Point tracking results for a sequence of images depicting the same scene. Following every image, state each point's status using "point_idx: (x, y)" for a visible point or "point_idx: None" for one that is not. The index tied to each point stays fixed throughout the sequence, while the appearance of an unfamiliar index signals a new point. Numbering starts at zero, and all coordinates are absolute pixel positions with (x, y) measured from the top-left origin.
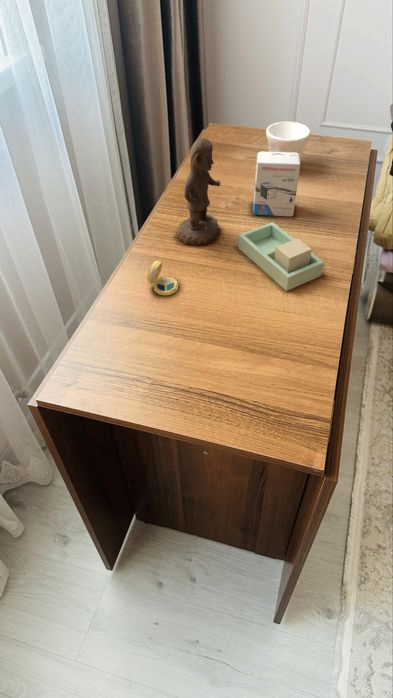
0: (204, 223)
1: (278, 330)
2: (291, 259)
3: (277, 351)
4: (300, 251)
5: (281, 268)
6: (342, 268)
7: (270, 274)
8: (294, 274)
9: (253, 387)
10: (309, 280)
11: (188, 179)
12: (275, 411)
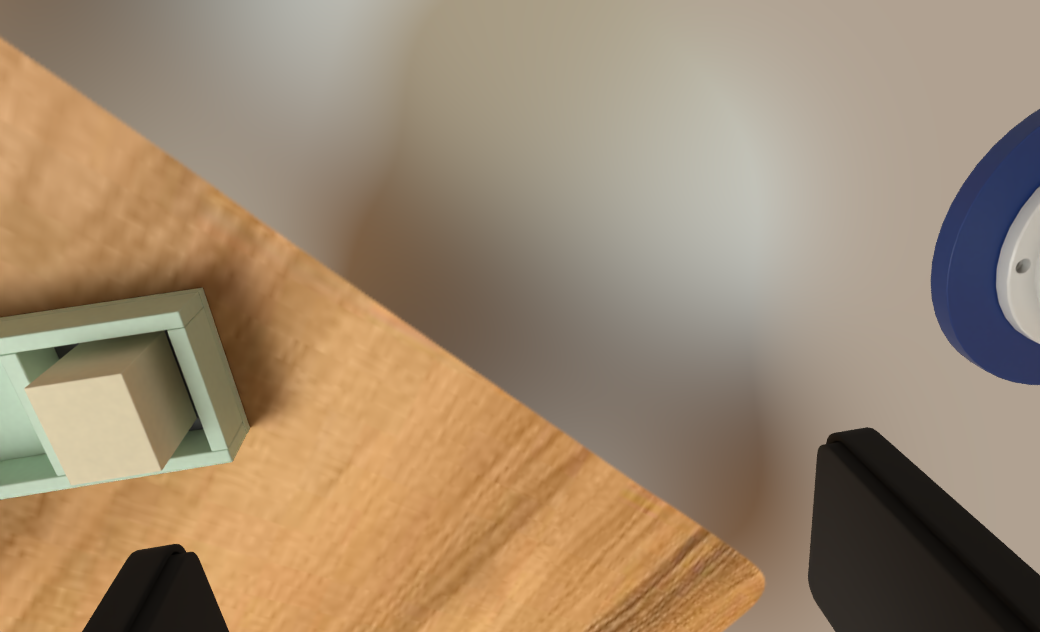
0: None
1: (409, 512)
2: (162, 456)
3: (479, 541)
4: (126, 418)
5: (173, 462)
6: (179, 188)
7: None
8: (222, 439)
9: (555, 619)
10: (219, 340)
11: None
12: (633, 603)
